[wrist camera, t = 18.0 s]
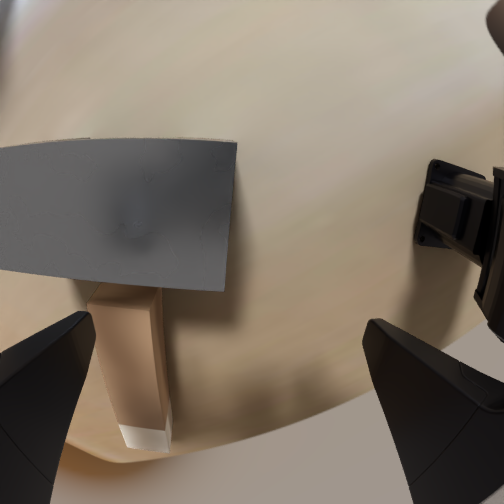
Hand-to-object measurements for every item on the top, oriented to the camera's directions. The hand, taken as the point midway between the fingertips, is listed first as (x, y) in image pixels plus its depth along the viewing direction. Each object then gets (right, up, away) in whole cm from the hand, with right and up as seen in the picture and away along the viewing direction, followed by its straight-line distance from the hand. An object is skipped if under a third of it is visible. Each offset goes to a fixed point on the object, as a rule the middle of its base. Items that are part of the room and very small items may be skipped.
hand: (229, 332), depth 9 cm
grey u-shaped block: (-7, +7, +8) cm, 13 cm away
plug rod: (-8, -7, +14) cm, 17 cm away
